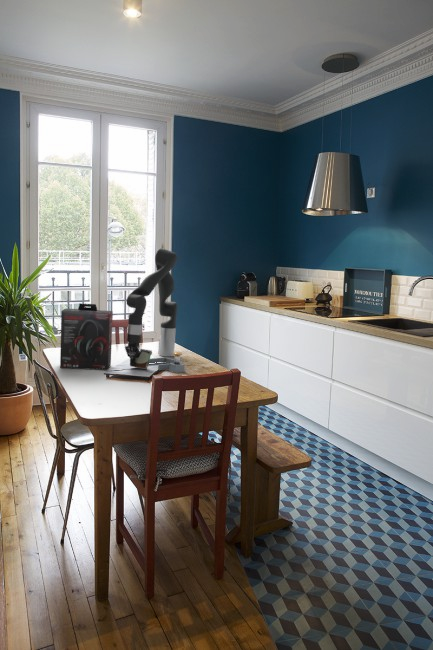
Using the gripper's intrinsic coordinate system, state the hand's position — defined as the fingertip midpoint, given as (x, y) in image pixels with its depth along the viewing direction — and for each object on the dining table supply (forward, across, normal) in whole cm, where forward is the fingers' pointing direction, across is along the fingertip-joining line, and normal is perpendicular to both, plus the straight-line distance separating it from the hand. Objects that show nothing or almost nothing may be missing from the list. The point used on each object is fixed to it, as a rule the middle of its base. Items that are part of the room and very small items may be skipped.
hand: (132, 365), depth 265 cm
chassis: (+2, +4, +20) cm, 20 cm away
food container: (+2, 0, +5) cm, 5 cm away
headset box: (+2, -15, -19) cm, 24 cm away
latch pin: (-2, +13, +19) cm, 23 cm away
